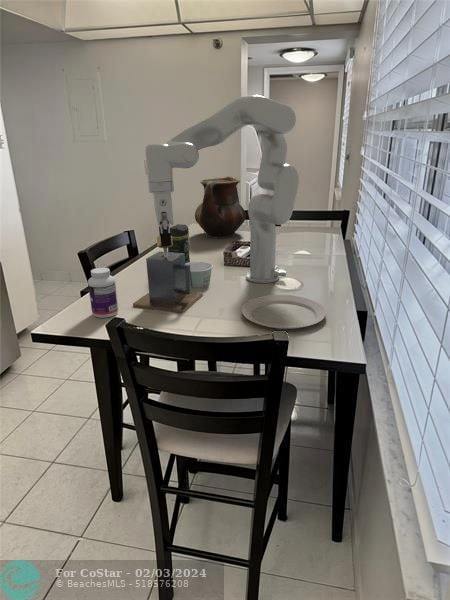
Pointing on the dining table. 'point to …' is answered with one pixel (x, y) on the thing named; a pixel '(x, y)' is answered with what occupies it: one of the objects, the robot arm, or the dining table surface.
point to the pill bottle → (102, 293)
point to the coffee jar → (180, 240)
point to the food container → (200, 273)
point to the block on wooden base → (168, 284)
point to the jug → (220, 208)
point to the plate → (288, 299)
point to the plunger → (163, 246)
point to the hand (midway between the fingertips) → (165, 242)
